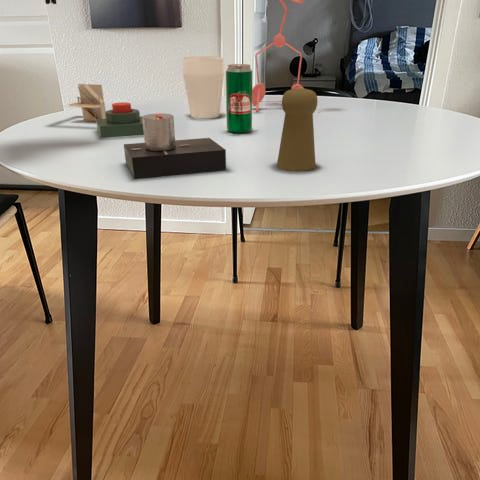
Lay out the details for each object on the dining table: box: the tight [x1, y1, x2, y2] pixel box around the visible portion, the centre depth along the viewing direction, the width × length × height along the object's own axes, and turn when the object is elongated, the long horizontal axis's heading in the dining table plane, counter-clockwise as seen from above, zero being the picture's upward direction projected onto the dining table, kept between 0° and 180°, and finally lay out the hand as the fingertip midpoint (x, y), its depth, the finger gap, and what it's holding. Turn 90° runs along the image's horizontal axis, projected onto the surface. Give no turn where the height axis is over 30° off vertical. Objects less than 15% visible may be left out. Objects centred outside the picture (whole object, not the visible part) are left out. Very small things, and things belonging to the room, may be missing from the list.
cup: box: [182, 56, 225, 120], centre depth 112 cm, size 9×9×12 cm
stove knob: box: [141, 112, 176, 151], centre depth 74 cm, size 5×5×5 cm
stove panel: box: [123, 137, 227, 179], centre depth 77 cm, size 14×9×3 cm, turn 109°
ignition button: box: [111, 101, 132, 113], centre depth 98 cm, size 4×4×2 cm
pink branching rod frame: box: [252, 0, 321, 114], centre depth 116 cm, size 15×26×35 cm, turn 76°
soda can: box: [225, 63, 253, 135], centre depth 97 cm, size 5×5×12 cm
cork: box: [276, 87, 318, 172], centre depth 75 cm, size 6×6×11 cm
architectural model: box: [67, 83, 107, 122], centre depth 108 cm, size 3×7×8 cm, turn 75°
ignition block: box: [95, 108, 144, 139], centre depth 99 cm, size 10×8×4 cm
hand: (51, 3), depth 78 cm, fingers closed
